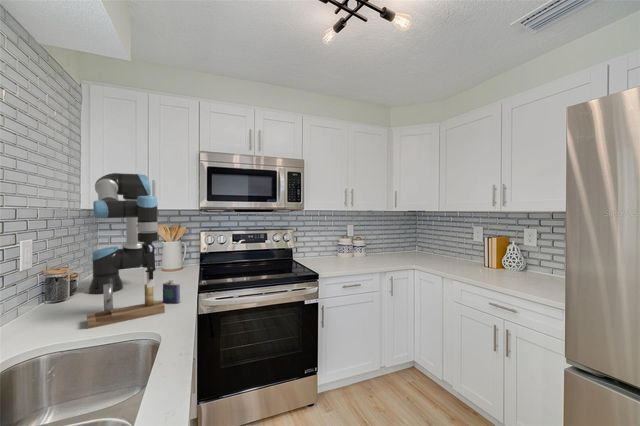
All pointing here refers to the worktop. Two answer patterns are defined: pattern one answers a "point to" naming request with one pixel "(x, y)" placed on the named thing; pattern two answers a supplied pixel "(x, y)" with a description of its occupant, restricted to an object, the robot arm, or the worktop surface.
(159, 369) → the worktop surface
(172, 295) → the flask
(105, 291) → the peg
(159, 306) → the board
